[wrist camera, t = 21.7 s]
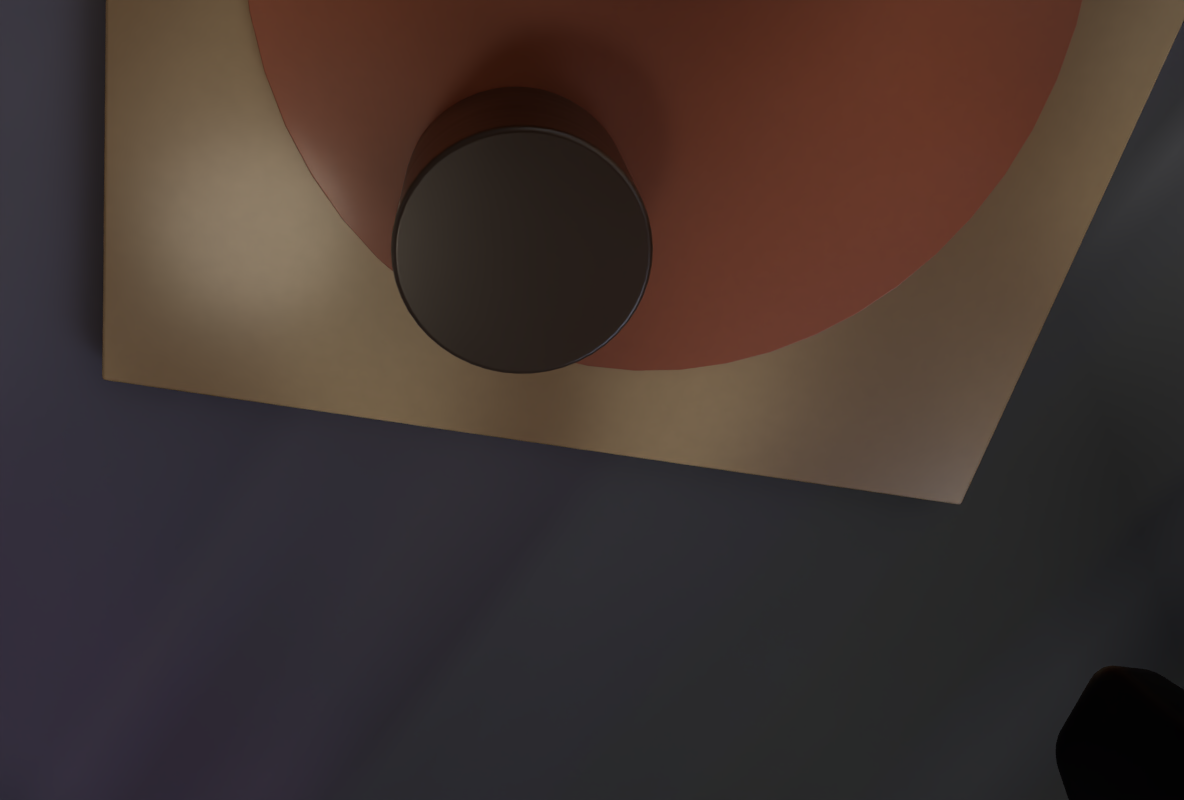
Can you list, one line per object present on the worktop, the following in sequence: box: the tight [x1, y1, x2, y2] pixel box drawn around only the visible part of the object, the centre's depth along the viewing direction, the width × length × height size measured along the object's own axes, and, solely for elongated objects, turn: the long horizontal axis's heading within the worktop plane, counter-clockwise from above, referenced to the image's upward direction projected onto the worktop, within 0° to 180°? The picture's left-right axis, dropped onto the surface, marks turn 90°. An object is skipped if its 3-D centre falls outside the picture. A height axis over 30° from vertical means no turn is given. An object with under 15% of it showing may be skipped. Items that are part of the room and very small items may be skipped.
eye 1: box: [391, 87, 653, 374], centre depth 17 cm, size 4×4×3 cm
